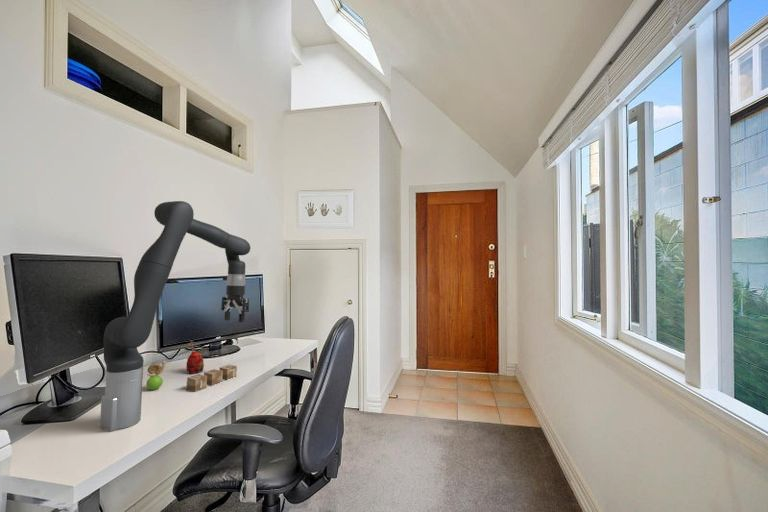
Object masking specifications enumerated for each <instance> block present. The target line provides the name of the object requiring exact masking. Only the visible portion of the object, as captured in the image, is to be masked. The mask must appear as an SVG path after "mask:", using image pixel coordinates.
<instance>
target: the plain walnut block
mask: <svg viewBox="0 0 768 512" xmlns="http://www.w3.org/2000/svg"><path fill="white" fill-rule="evenodd" d="M203 375H205V376H207V386H210V385H211V386H210V387H213V386H216V385H219V384H221V383H220V382H222V383H223V379H222V376H223V371H222V370H219V369H216V368H214V369H211V370H208V371H204V372H203ZM218 383H219V384H218ZM215 384H216V385H215Z"/></svg>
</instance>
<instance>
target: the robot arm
mask: <svg viewBox="0 0 768 512" xmlns="http://www.w3.org/2000/svg"><path fill="white" fill-rule="evenodd" d="M154 218H155V220H156V221H157V222H158V223H159V224H160V225H162V226H164V228H163V229H162V231H161V233H160V235H159V237H158V238H157V239H155V241H154V242H153V243H152V244H151V245H150V246H149V247H148V248H147V250H146V251H145V252H144V253H143V255H142V256H141V258H140V260H139V263H138V265H137V267H136V269H135V272H134V277H133V289H134V290H133V291H134V299H133V303H132V305H131V309H130V311H129V314H128V315H127V316H120V317H119V316H118V317H117V318H114V319H113V320H110V322H108V324H107V325H106V327H105V330H104V332H103V361H104V363H105V367H106V369H105V373H106V374H105V391H104V394H103V395H102V396H101V397H100V401H101V402H100V417H99V418H100V420H99V428H101V429H104V430H106V431H108V432H113V431H116V430H123V429H126V428H129V427H132V426H134V425H136V424H138V423H139V422H140V421H141V417H142V399H143V379H144V378H143V377H144V376H143V375H144V362H145V360H144V357H143V356H142V355H141V353H140V352H139V350H138V348H139V347H140V346H141V347H142V345H143V344H144V343H146V342H147V340H148V339H149V337H150V334H151V332H152V329H153V324H154V321H155V318H156V317H155V316H156V313H157V309H158V306H159V304H160V300H161V297H162V295H163V291H164V290H165V286H166V284H167V281H168V279H169V276H170V274H171V271H172V269H173V266H174V263H175V260H176V257H177V254H178V252H179V249H180V247H181V245H182V243H183V240H184V238H185V236H186V234H190V235H191V236H194V237H197V238H199V239H201V240H203V241H206V242H208V243H210V244H211V245H213V246H216V247H218V248H220V249H224V253H225V257H226V262H227V265H228V266H227V278H226V289H225V290H226V293H225V295H226V296H222V297H221V306H220V307H221V308H220V310H221V311H223V312H224V320H225V321H226V322H227V321H230V320H231V310H232V309H233V308H234V309H236V310H238V313H239V314H238V323H244V322H245V319H246V317H245V315H246V313H249V311H250V299H249V298H244V296H245V294H246V263H245V261H243V260H241V259H240V256H245V255H247V254H249V253H250V251H251V245H250V243H249V242H248V241H247V240H246V239H244V238H242V237H240V236H236V235H233V234H230V233H229V232H227V231H226V230H223V229H221V228H219V227H218V226H215V225H212V224H209V223H206V222H205V221H204V222H203V221H200V220H198V219H195V218H194V208H193V207H192V205H191V204H190V203H188V202H186V201H182V200H175V201H164V202H161V203H159V204H157V206H156V207H155V208H154Z"/></svg>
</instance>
